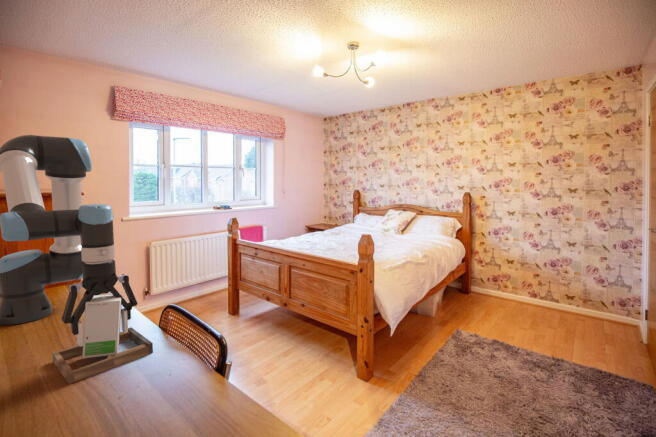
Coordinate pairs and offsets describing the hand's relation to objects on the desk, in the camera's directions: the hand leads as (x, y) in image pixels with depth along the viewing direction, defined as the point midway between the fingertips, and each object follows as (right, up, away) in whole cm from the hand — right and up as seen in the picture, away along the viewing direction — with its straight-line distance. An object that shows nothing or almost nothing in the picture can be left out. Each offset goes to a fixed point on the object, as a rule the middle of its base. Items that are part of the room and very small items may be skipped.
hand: (103, 337), depth 94 cm
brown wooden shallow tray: (0, -6, +1) cm, 6 cm away
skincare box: (-1, -4, 0) cm, 4 cm away
